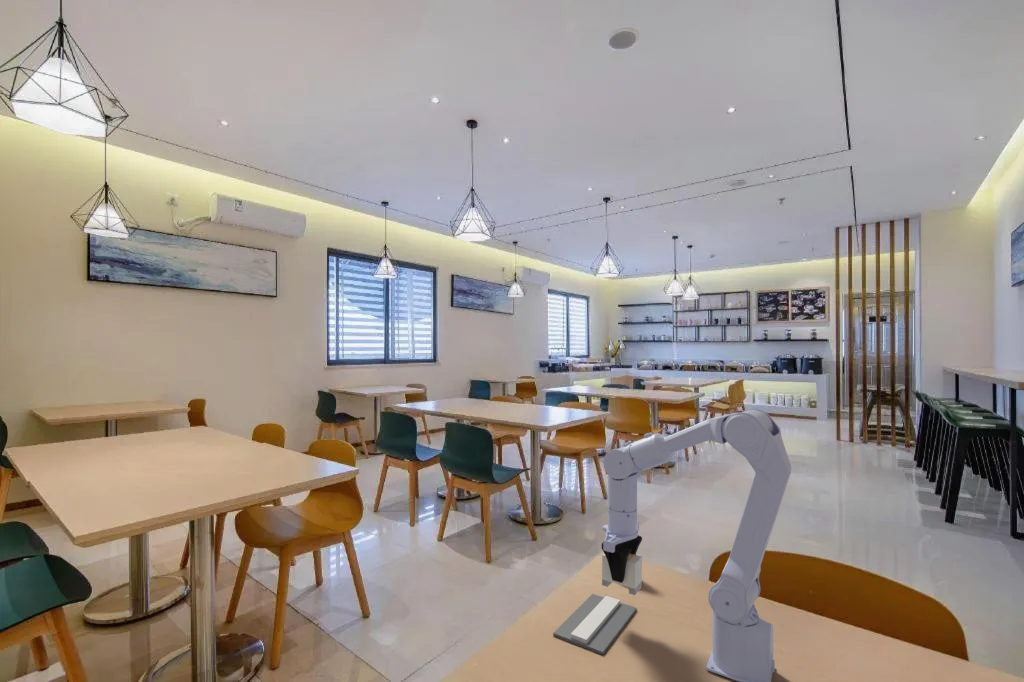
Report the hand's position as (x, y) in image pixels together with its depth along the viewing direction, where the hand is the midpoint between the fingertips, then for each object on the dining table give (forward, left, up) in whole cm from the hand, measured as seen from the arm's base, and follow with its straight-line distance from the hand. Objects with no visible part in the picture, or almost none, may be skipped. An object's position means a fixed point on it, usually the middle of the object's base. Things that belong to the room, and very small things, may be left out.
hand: (621, 576), depth 93 cm
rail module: (0, 0, -2) cm, 2 cm away
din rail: (+4, +3, -9) cm, 10 cm away
